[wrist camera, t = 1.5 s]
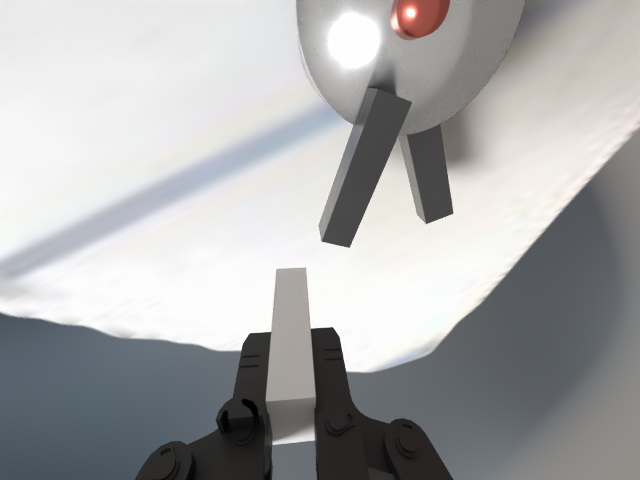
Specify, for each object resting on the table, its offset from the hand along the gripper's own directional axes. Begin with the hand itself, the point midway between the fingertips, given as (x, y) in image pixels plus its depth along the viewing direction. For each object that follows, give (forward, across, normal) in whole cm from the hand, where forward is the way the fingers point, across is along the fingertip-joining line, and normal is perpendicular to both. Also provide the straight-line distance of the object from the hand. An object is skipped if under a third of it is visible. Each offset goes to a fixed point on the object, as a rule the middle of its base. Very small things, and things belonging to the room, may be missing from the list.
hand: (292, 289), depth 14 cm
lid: (+13, +7, +9) cm, 17 cm away
